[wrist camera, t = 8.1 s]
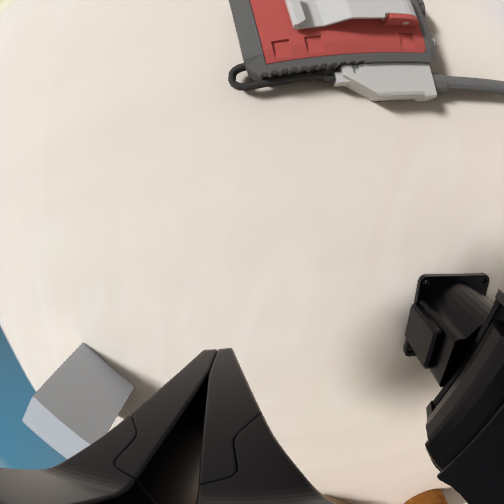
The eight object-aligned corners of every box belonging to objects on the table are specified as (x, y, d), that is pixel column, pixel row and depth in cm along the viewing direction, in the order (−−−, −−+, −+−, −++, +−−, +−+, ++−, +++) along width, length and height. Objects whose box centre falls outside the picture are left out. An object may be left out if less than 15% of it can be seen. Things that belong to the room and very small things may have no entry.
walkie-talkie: (240, 124, 18) (503, 104, 15) (228, 114, 14) (539, 99, 11) (214, 8, 15) (471, 3, 13) (199, -23, 11) (499, -16, 8)
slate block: (83, 342, 23) (32, 396, 16) (135, 386, 24) (97, 449, 17) (64, 372, 25) (22, 420, 17) (109, 410, 26) (76, 465, 18)
